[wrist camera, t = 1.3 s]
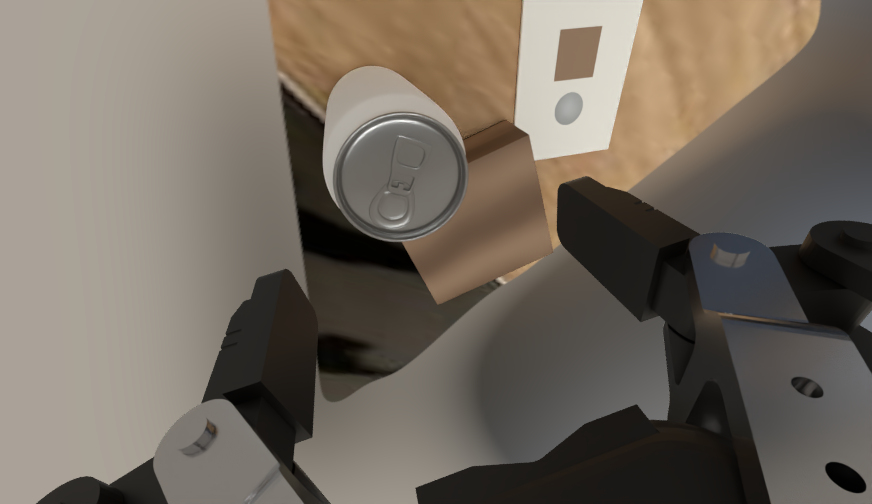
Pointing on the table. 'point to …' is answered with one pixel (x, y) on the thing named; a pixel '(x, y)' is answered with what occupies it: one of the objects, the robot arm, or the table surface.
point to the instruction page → (572, 72)
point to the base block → (487, 218)
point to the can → (391, 156)
